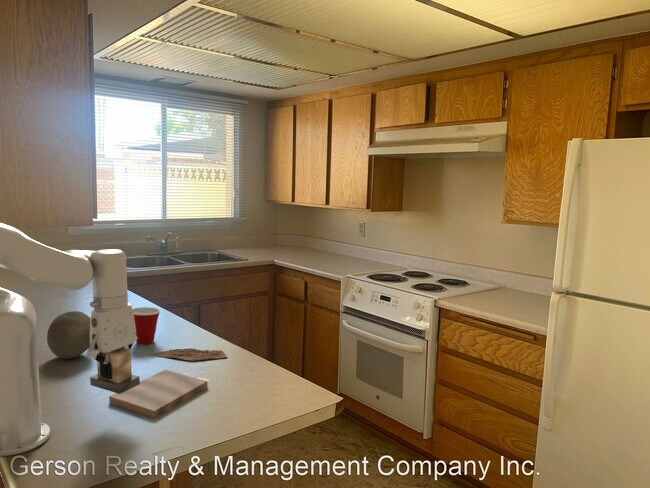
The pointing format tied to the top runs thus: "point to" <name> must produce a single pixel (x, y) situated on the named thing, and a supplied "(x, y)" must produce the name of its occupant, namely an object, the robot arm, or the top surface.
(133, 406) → the board
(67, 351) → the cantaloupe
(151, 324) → the plastic cup
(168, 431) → the top surface
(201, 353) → the wooden fragment
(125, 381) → the block
